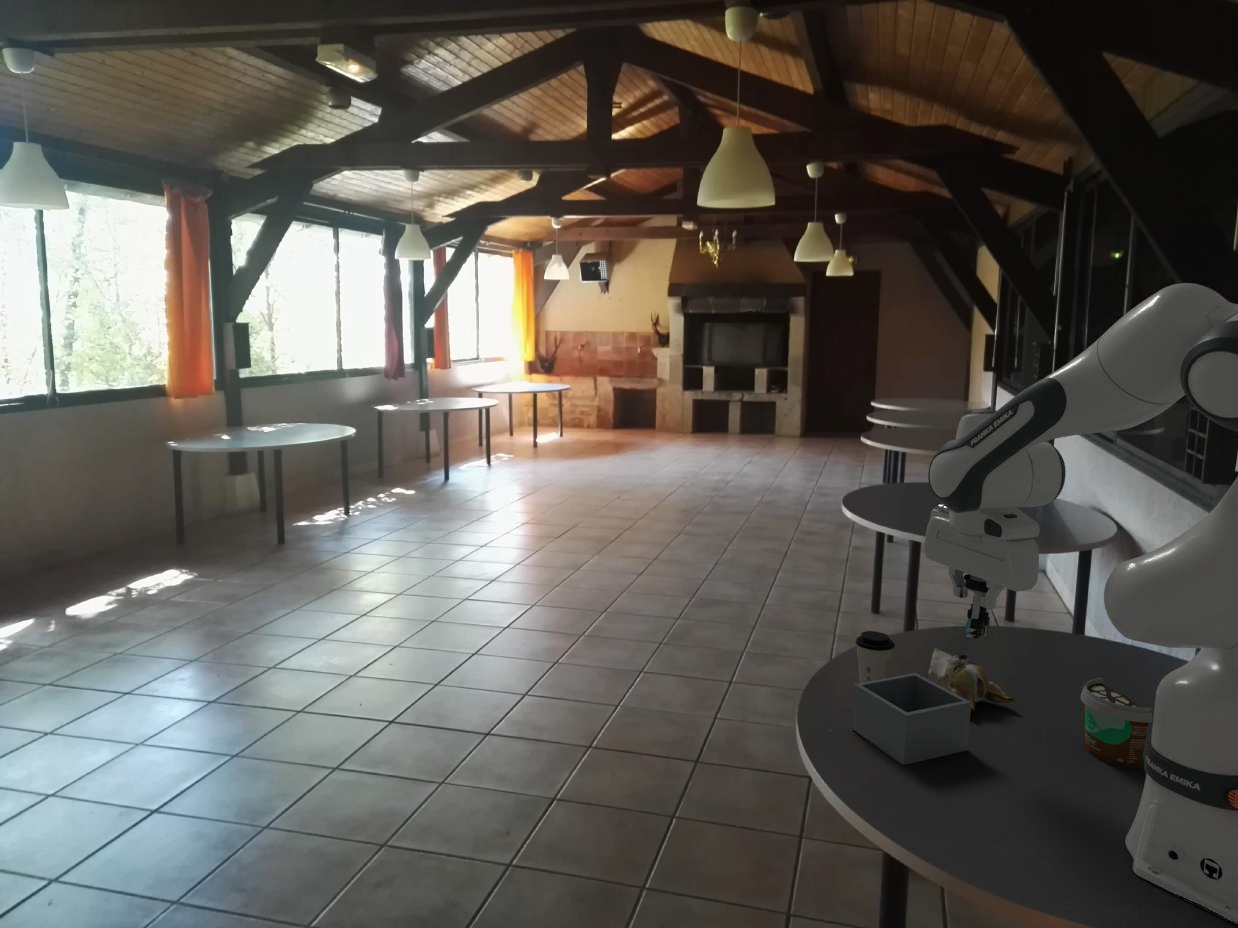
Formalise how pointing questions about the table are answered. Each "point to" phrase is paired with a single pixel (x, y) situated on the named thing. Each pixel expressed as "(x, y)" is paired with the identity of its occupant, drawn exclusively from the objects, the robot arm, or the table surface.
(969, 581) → the push button
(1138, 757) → the food container
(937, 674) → the ceramic sculpture
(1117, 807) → the table surface
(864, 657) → the coffee cup
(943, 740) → the bin
